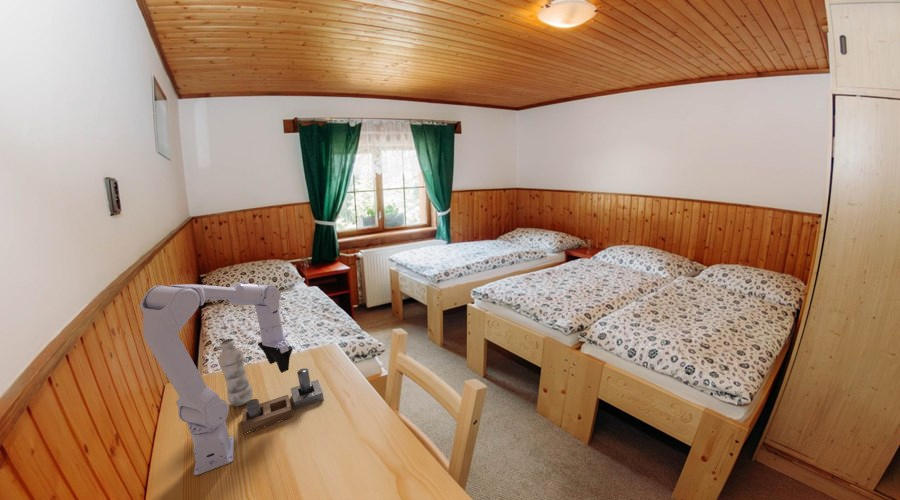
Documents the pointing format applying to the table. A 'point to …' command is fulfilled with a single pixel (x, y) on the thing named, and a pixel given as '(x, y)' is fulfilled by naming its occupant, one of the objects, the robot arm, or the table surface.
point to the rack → (265, 413)
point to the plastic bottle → (234, 373)
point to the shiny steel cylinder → (304, 381)
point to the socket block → (307, 395)
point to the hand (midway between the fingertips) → (278, 366)
